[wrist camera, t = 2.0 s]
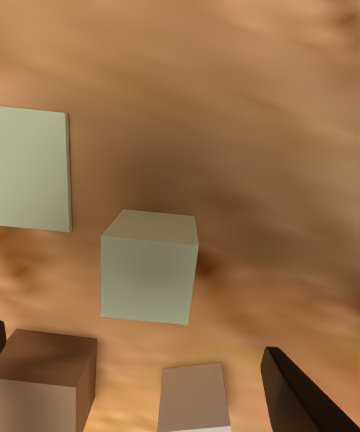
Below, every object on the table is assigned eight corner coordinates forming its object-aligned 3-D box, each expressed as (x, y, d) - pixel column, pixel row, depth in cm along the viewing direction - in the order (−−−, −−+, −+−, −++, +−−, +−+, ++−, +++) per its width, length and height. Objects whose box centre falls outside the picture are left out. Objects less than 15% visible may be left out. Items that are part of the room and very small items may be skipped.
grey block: (220, 361, 19) (230, 425, 15) (226, 403, 20) (237, 474, 16) (163, 367, 19) (157, 432, 15) (172, 409, 21) (169, 479, 16)
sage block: (194, 215, 16) (198, 245, 11) (187, 277, 17) (188, 325, 13) (123, 208, 16) (100, 235, 11) (121, 271, 17) (100, 316, 13)
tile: (68, 113, 14) (64, 112, 14) (71, 230, 16) (69, 232, 16) (-58, 100, 14) (-65, 98, 13) (-38, 219, 16) (-44, 221, 16)
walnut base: (97, 337, 19) (75, 387, 15) (95, 394, 21) (75, 453, 17) (18, 327, 19) (-25, 376, 15) (22, 386, 20) (-15, 443, 17)
